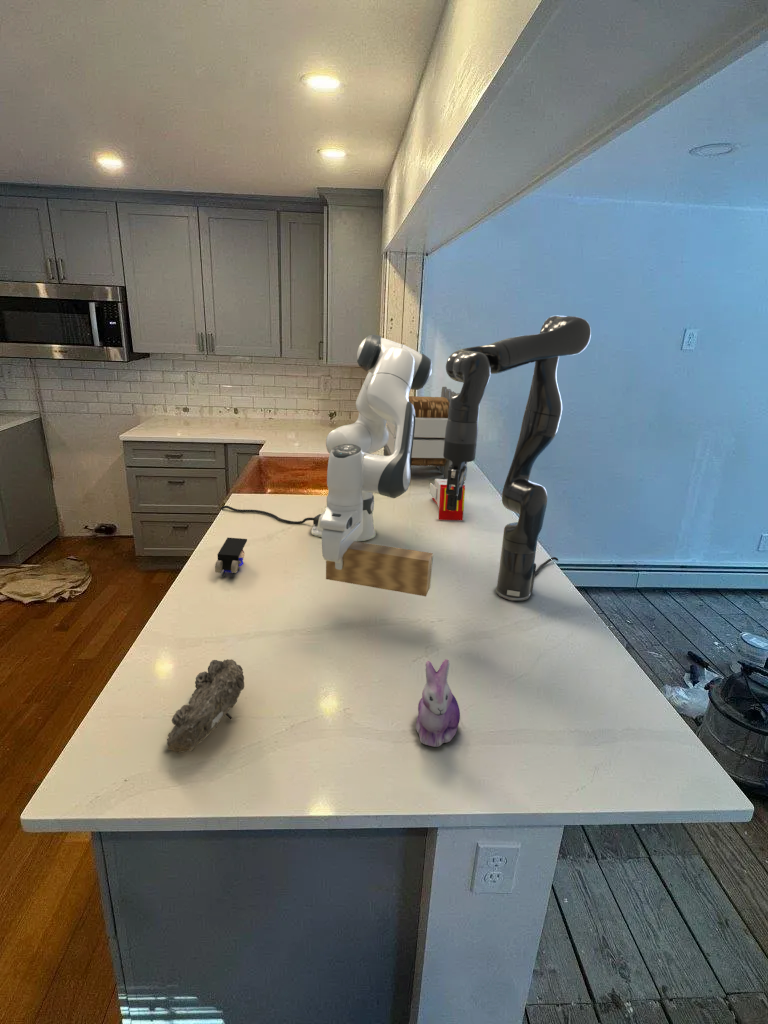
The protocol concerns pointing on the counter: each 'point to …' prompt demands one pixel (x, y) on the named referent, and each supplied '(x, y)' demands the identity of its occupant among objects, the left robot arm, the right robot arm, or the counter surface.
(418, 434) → the transformer
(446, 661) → the figurine
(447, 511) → the toy
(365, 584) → the bar
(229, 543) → the figurine character
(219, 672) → the fossil
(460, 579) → the counter surface
